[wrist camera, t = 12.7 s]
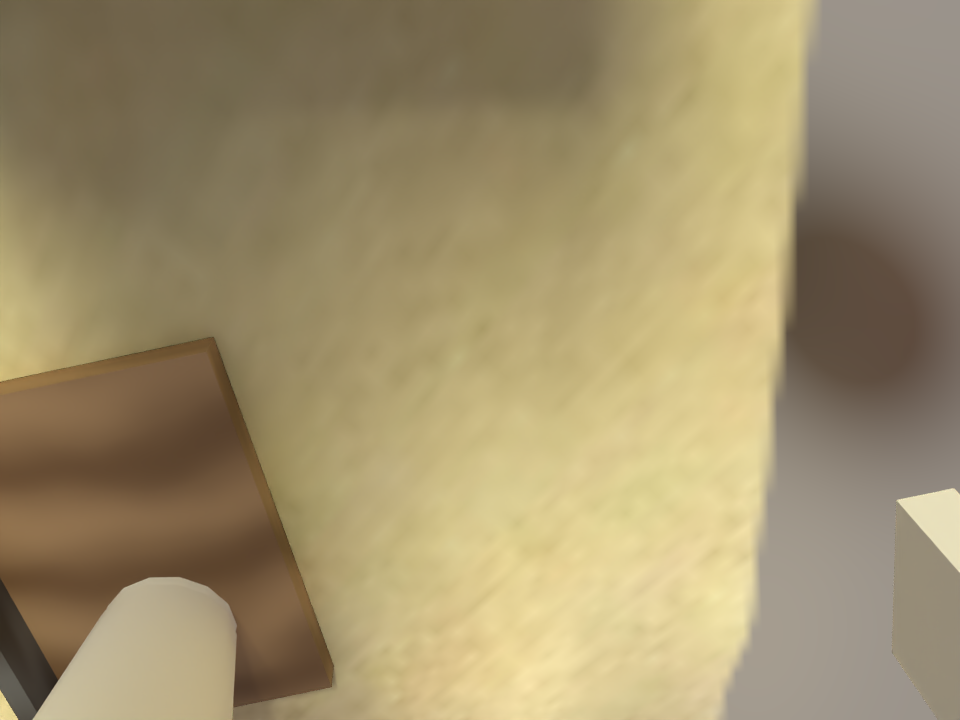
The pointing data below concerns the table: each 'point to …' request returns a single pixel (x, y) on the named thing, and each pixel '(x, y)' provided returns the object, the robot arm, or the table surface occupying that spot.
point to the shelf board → (141, 518)
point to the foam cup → (152, 658)
